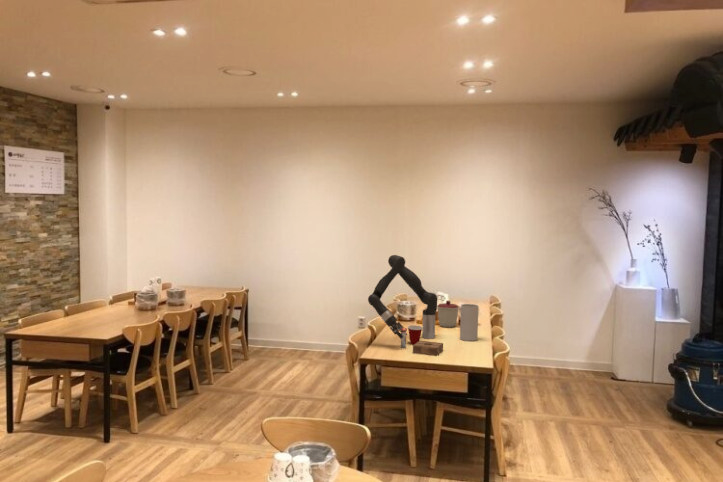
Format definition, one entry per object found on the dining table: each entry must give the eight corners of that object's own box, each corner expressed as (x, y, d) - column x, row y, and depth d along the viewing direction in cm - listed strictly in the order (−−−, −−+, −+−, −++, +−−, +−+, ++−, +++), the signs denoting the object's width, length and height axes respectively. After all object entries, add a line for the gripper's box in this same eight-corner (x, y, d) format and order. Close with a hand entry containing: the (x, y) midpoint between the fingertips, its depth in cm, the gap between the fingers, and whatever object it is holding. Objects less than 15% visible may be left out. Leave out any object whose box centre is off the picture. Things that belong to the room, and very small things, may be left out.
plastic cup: (409, 345, 394) (409, 328, 394) (405, 342, 405) (405, 325, 404) (424, 345, 396) (424, 328, 396) (419, 341, 407) (420, 325, 406)
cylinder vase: (477, 341, 411) (478, 307, 409) (459, 340, 413) (460, 306, 412) (477, 338, 423) (478, 304, 422) (460, 337, 425) (461, 303, 424)
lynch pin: (401, 346, 390) (401, 327, 389) (407, 347, 388) (407, 328, 387) (399, 348, 386) (399, 328, 385) (405, 349, 384) (405, 329, 383)
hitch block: (420, 347, 389) (420, 340, 388) (443, 350, 382) (443, 343, 382) (412, 352, 374) (413, 345, 374) (436, 355, 368) (436, 348, 367)
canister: (434, 327, 459) (435, 301, 458) (438, 323, 476) (439, 298, 475) (457, 329, 454) (458, 302, 453) (460, 325, 471) (460, 299, 470)
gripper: (388, 316, 383) (404, 335, 379) (396, 313, 396) (411, 331, 392) (381, 323, 385) (396, 342, 381) (388, 320, 398) (403, 338, 394)
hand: (404, 336), depth 386 cm, fingers open, 8 cm apart
